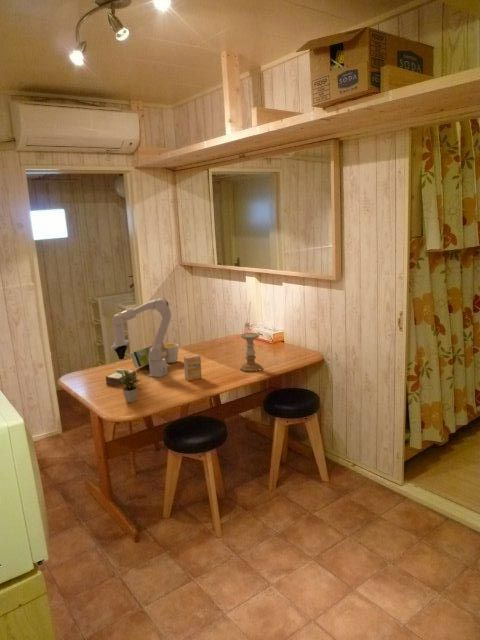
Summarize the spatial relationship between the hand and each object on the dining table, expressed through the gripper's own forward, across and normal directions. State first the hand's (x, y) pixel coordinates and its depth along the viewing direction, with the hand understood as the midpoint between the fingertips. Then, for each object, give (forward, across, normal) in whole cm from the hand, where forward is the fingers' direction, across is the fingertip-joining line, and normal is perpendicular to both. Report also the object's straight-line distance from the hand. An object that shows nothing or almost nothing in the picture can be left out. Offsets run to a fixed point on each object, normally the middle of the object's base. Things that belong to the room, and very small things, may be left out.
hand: (121, 358), depth 267 cm
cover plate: (+7, +7, +4) cm, 10 cm away
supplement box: (+11, -10, +40) cm, 43 cm away
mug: (+10, -32, +10) cm, 36 cm away
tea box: (+6, -20, -3) cm, 21 cm away
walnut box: (+10, +6, +4) cm, 13 cm away
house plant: (+11, +27, +25) cm, 38 cm away
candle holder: (+11, -36, +63) cm, 74 cm away
